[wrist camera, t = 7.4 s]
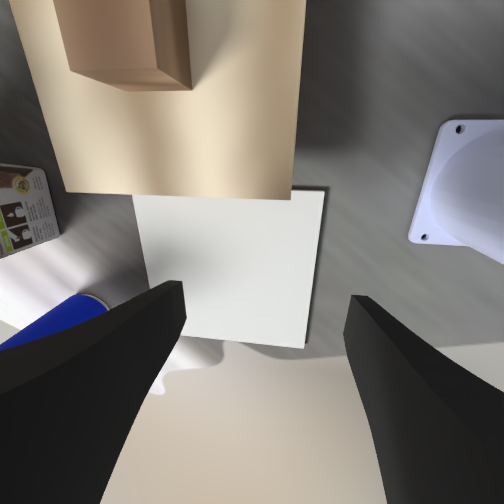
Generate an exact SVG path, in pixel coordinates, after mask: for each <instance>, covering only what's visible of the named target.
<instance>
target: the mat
mask: <svg viewBox="0 0 504 504" xmlns="http://www.w3.org/2000/svg"><path fill="white" fill-rule="evenodd" d="M324 193H325V192H324V191H319V190H291V200H265V199H238V198H212V197H185V196H159V195H132V197H133V203H134V208H135V213H136V218H137V223H138V229H139V234H140V239H141V244H142V250H143V255H144V260H145V265H146V270H147V276H148V281H149V286H150V289H151V288H153V287H155V286H157V285H159V284H161V283H163V282H166V281H168V280H176V281H182V283H183V291H184V299H185V307H186V315H187V319H186V322H185V324H184V327H183V330H182V332H181V334H180V335H184V336H193V337H203V338H212V339H221V340H230V341H239V342H248V343H257V344H266V345H275V346H285V347H294V348H303V349H304V343H305V336H306V328H307V321H308V313H309V306H310V298H311V291H312V283H313V276H314V268H315V261H316V253H317V246H318V238H319V231H320V223H321V216H322V208H323V201H324Z"/></svg>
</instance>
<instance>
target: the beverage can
mask: <svg viewBox="0 0 504 504" xmlns="http://www.w3.org/2000/svg"><path fill="white" fill-rule="evenodd" d="M109 310H110V309H109V307H108V306H107V305H106V303H104V302H103V301H102V300H101V299H99V298H97V297H95V296H92V295H88V294H78V295H73V296H71V297H69V298H68V299H67V300H65V301H64V302H62V303H61V304H59V305H58V306H56V307H55V308H53V309H52V310H50V311H49V312H47V313H46V314H45V315H43V316H42V317H40V318H39V319H37V320H36V321H34V322H33V323H31V324H30V325H28V326H27V327H25V328H24V329H23V330H21V331H20V332H18V333H17V334H15V335H14V336H12V337H11V338H9V339H8V340H6V341H5V342H4V343H2V344H1V345H0V351H2V350H5V349H8V348H11V347H15V346H18V345H21V344H24V343H28V342H30V341H33V340H36V339H39V338H42V337H45V336H48V335H51V334H53V333H56V332H59V331H62V330H65V329H67V328H70V327H72V326H75V325H77V324H80V323H82V322H85V321H87V320H89V319H91V318H94V317H96V316H98V315H100V314H102V313H104V312H107V311H109Z"/></svg>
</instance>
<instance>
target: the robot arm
mask: <svg viewBox="0 0 504 504" xmlns="http://www.w3.org/2000/svg"><path fill="white" fill-rule="evenodd" d="M459 125H460V126H461V130H460V132H459V133H458V134H457V133H456V128H457V126H459ZM424 234H426V237H425V238H423V239H421V237H422V235H424ZM408 239H409V240H410V241H411V242H413V243H422V244H440V245H458V246H469V247H471V248H473V249H475V250H477V251H479V252H481V253H483V254H484V255H486V256H488V257H490V258H492V259H494V260H496V261H498V262H500V263H502V264H503V265H504V120H450V121H447V122H445V123H443V124H442V126H441V127H440V129H439V132H438V136H437V139H436V142H435V146H434V149H433V153H432V156H431V159H430V163H429V166H428V170H427V173H426V176H425V180H424V183H423V186H422V190H421V193H420V197H419V200H418V203H417V207H416V210H415V214H414V217H413V220H412V224H411V227H410V231H409V234H408ZM186 319H187V315H186V307H185V299H184V291H183V283H182V281H176V280H168V281H166V282H163V283H161V284H159V285H157V286H155V287H153V288H151V289H150V290H148V291H146V292H144V293H142V294H140V295H138V296H136V297H135V298H133V299H131V300H129V301H127V302H125V303H123V304H121V305H119V306H117V307H115V308H113V309H111V310H109V311H107V312H104V313H102V314H100V315H98V316H96V317H94V318H91V319H89V320H87V321H85V322H82V323H80V324H77V325H75V326H72V327H70V328H67V329H65V330H62V331H59V332H56V333H53V334H51V335H48V336H45V337H42V338H39V339H36V340H33V341H30V342H28V343H24V344H21V345H18V346H15V347H11V348H8V349H5V350H2V351H0V504H100V502H101V499H102V496H103V494H104V491H105V489H106V486H107V484H108V481H109V479H110V476H111V474H112V472H113V469H114V467H115V464H116V462H117V459H118V457H119V454H120V452H121V450H122V448H123V445H124V443H125V441H126V438H127V436H128V434H129V431H130V429H131V427H132V425H133V423H134V420H135V418H136V416H137V414H138V412H139V410H140V407H141V405H142V403H143V401H144V399H145V397H146V395H147V393H148V391H149V389H150V387H151V386H152V384H153V382H154V380H155V379H156V377H157V375H158V374H159V372H160V370H161V368H162V367H163V365H164V363H165V362H166V360H167V358H168V356H169V355H170V353H171V351H172V349H173V348H174V346H175V344H176V342H177V341H178V339H179V337H180V334H181V332H182V330H183V327H184V324H185V322H186ZM343 336H344V341H345V347H346V352H347V357H348V360H349V363H350V366H351V370H352V373H353V376H354V379H355V382H356V385H357V388H358V391H359V394H360V397H361V400H362V403H363V406H364V409H365V412H366V415H367V418H368V421H369V425H370V429H371V432H372V437H373V441H374V445H375V450H376V454H377V458H378V463H379V467H380V472H381V476H382V481H383V486H384V490H385V495H386V499H387V504H504V392H502V391H500V390H499V389H497V388H495V387H494V386H492V385H490V384H489V383H487V382H485V381H483V380H482V379H480V378H479V377H477V376H476V375H474V374H472V373H471V372H469V371H468V370H466V369H465V368H463V367H462V366H460V365H458V364H457V363H455V362H453V361H452V360H451V359H449V358H448V357H446V356H445V355H443V354H442V353H441V352H439V351H438V350H436V349H435V348H434V347H432V346H431V345H429V344H428V343H427V342H425V341H424V340H423V339H421V338H420V337H419V336H417V335H416V334H415V333H413V332H412V331H411V330H409V329H408V328H407V327H406V326H404V325H403V324H402V323H401V322H399V321H398V320H397V319H396V318H394V317H393V316H392V315H391V314H390V313H388V312H387V311H386V310H385V309H383V308H382V307H381V306H380V305H379V304H377V303H376V302H375V301H374V300H372V299H371V298H369V297H368V296H361V295H351V300H350V305H349V309H348V314H347V319H346V323H345V328H344V332H343Z"/></svg>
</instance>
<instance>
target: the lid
mask: <svg viewBox="0 0 504 504" xmlns="http://www.w3.org/2000/svg"><path fill="white" fill-rule="evenodd" d="M9 2H10V5H11V9H12V12H13V15H14V19H15V22H16V25H17V29H18V32H19V35H20V39H21V42H22V45H23V49H24V52H25V55H26V59H27V62H28V65H29V69H30V72H31V75H32V79H33V82H34V85H35V89H36V92H37V95H38V99H39V102H40V105H41V109H42V112H43V115H44V119H45V122H46V125H47V129H48V132H49V135H50V139H51V142H52V145H53V149H54V152H55V155H56V159H57V162H58V165H59V169H60V172H61V175H62V179H63V182H64V185H65V189H66V192H79V193H105V194H132V195H159V196H185V197H212V198H238V199H265V200H291V190H292V177H293V164H294V152H295V139H296V126H297V113H298V100H299V87H300V74H301V61H302V48H303V36H304V23H305V10H306V0H9Z"/></svg>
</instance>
